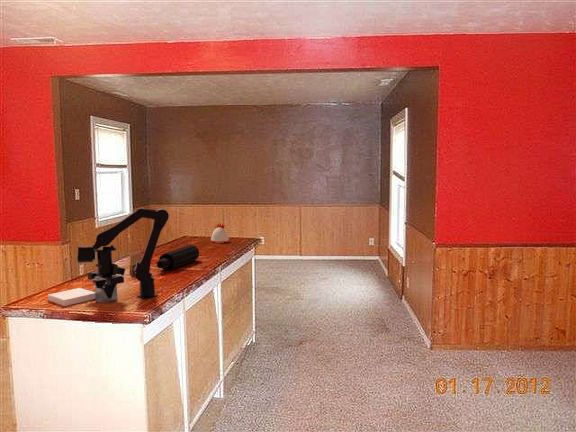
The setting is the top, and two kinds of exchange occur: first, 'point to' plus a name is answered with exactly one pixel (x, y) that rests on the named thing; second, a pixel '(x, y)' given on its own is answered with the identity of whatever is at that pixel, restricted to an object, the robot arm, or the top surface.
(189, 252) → the roller
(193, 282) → the top surface
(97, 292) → the block
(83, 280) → the top surface
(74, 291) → the board
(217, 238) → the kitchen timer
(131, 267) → the ammunition clip
